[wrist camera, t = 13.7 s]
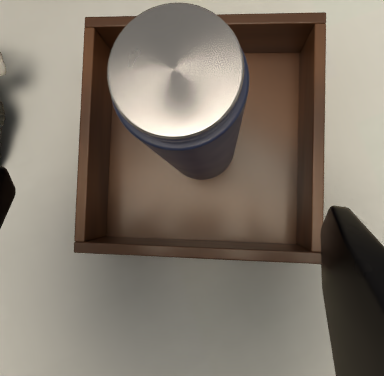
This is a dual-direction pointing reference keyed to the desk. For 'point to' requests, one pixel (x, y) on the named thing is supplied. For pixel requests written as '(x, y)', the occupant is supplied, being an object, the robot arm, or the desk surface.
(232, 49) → the can
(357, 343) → the robot arm
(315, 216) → the desk bin
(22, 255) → the desk surface
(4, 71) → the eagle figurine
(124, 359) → the desk surface
